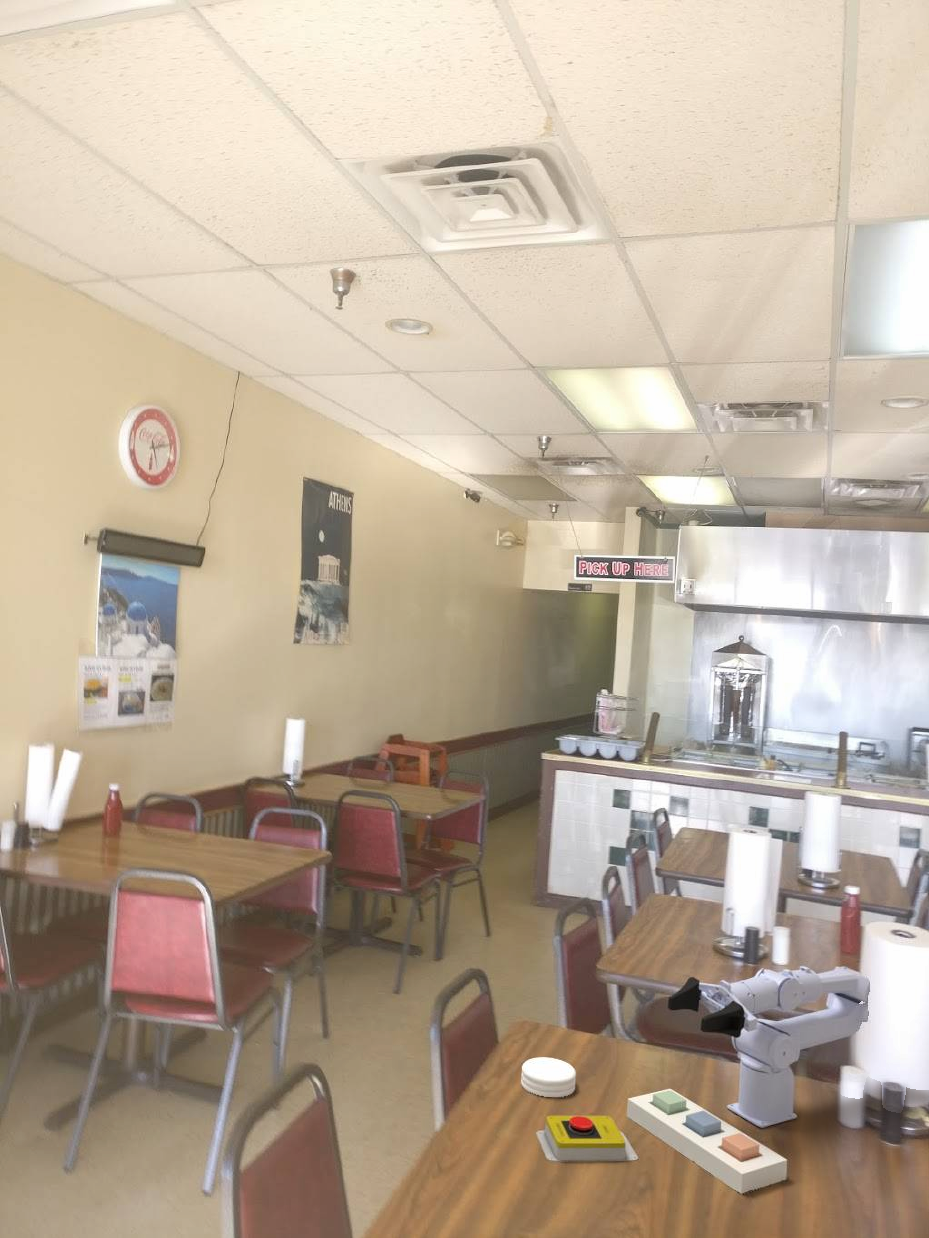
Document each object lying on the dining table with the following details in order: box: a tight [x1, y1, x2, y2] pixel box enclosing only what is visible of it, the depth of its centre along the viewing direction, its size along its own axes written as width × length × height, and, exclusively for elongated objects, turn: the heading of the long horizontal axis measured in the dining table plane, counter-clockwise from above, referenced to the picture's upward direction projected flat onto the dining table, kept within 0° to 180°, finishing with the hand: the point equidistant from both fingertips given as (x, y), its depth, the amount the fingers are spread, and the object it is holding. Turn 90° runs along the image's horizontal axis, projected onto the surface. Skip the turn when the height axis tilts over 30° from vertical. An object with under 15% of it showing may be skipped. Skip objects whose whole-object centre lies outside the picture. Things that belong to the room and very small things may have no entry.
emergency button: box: [535, 1115, 639, 1163], centre depth 153 cm, size 9×4×15 cm
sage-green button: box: [652, 1090, 686, 1115], centre depth 163 cm, size 4×4×3 cm
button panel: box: [626, 1088, 788, 1195], centre depth 156 cm, size 10×26×3 cm, turn 31°
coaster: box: [520, 1056, 577, 1098], centre depth 174 cm, size 10×10×4 cm
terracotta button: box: [722, 1133, 759, 1162], centre depth 149 cm, size 4×4×3 cm
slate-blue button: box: [685, 1111, 721, 1138], centre depth 156 cm, size 4×4×3 cm
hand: (685, 1014), depth 159 cm, fingers open, 7 cm apart
